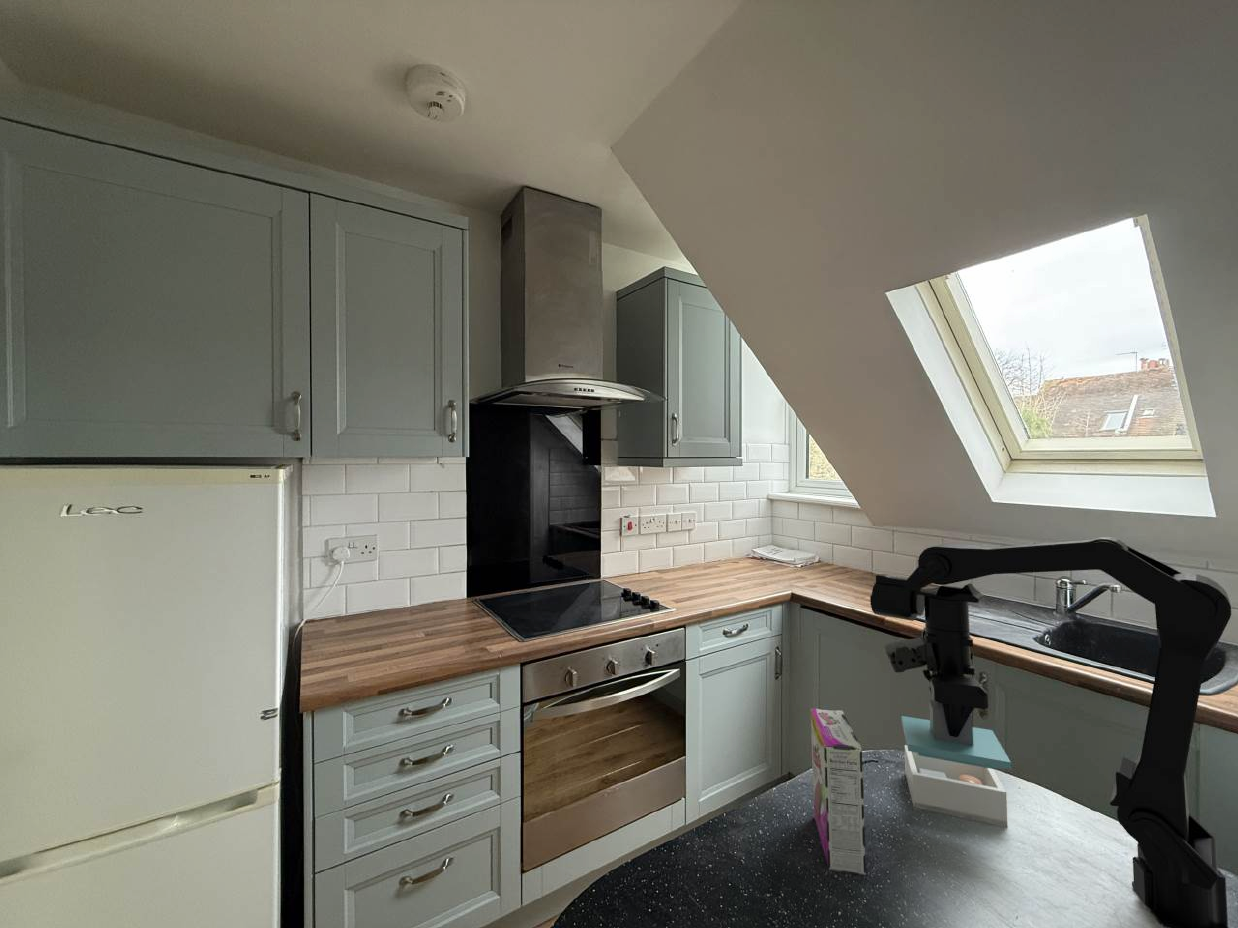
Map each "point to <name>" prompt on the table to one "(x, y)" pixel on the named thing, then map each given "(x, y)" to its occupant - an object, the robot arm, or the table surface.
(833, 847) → the candy bar box
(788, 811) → the table surface
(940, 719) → the lid
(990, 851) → the table surface
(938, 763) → the storage box
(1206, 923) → the robot arm
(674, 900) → the table surface
